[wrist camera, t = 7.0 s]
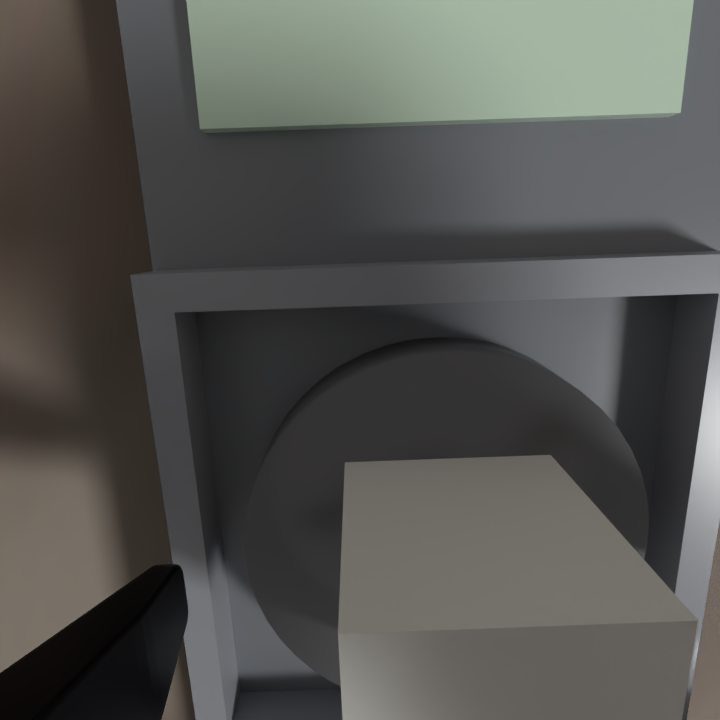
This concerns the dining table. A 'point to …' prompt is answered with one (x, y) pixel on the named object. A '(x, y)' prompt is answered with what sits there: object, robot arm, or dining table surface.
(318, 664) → the plug
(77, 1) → the dining table surface
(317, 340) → the socket base
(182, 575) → the robot arm
